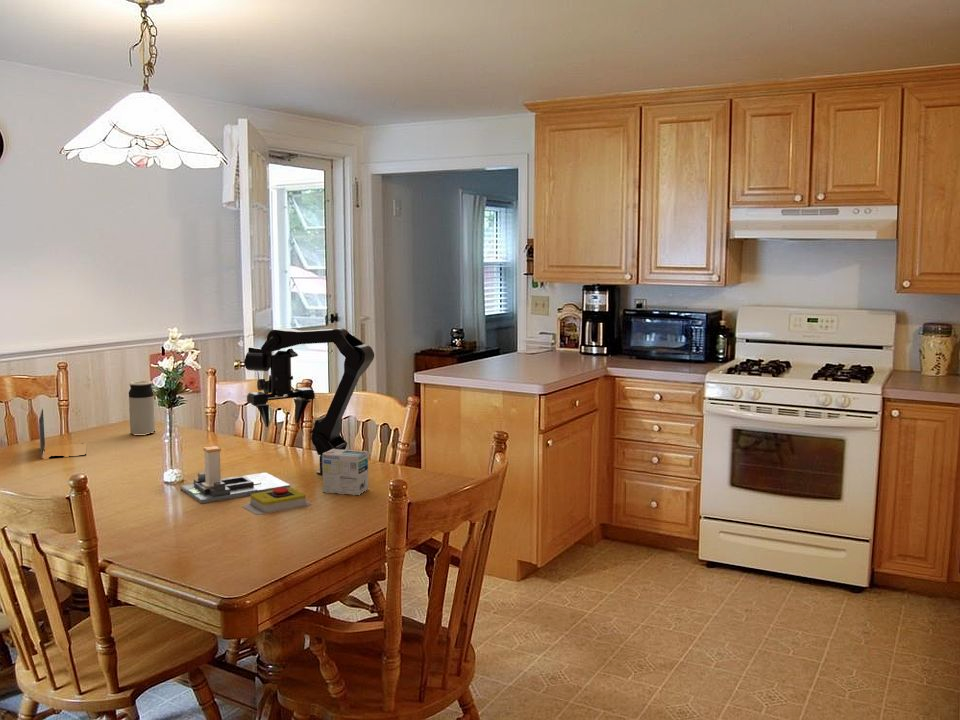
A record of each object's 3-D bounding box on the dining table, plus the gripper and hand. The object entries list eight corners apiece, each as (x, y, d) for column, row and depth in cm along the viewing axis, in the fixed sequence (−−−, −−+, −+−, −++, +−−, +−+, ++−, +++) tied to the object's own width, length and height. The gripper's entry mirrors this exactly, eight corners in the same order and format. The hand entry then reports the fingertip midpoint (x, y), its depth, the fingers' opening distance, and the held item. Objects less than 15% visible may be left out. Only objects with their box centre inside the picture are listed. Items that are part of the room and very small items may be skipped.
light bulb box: (369, 489, 227) (369, 450, 226) (359, 496, 221) (359, 456, 220) (332, 486, 230) (332, 447, 229) (321, 493, 224) (321, 453, 222)
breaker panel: (266, 475, 240) (265, 462, 240) (290, 488, 228) (289, 474, 227) (180, 489, 226) (180, 474, 225) (201, 503, 213) (200, 488, 213)
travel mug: (159, 431, 297) (157, 380, 295) (147, 436, 289) (145, 384, 287) (138, 430, 298) (136, 380, 296) (125, 435, 290) (123, 383, 288)
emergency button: (312, 489, 213) (255, 499, 204) (312, 506, 214) (256, 517, 204) (295, 481, 220) (240, 490, 211) (296, 497, 221) (240, 507, 212)
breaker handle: (219, 484, 226) (218, 445, 225) (225, 487, 223) (224, 448, 221) (201, 487, 223) (199, 447, 222) (206, 491, 220) (205, 450, 218)
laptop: (86, 456, 261) (84, 415, 260) (40, 460, 256) (38, 418, 255) (86, 444, 278) (84, 405, 276) (43, 448, 272) (41, 408, 271)
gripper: (298, 366, 256) (299, 417, 258) (239, 371, 245) (240, 424, 247) (315, 370, 248) (316, 423, 250) (254, 375, 236) (255, 430, 238)
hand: (281, 425), depth 246 cm, fingers open, 9 cm apart
